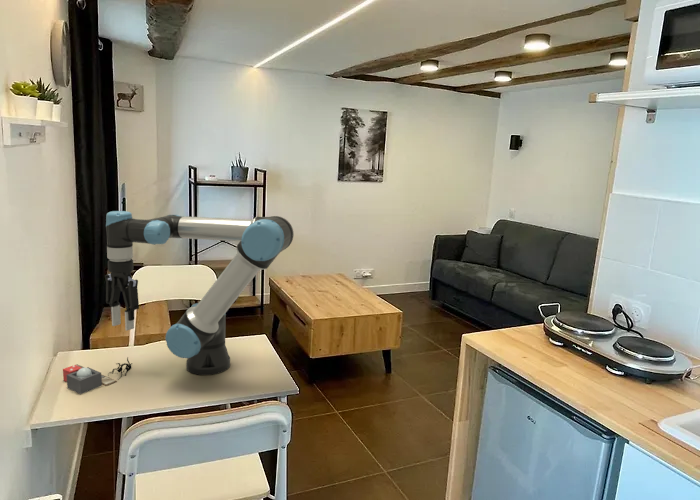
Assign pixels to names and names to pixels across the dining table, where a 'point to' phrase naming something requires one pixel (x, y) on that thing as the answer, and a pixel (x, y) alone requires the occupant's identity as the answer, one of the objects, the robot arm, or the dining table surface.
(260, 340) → the dining table surface
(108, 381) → the track strip
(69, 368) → the red die
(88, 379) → the dome housing
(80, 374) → the dome
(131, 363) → the creature
